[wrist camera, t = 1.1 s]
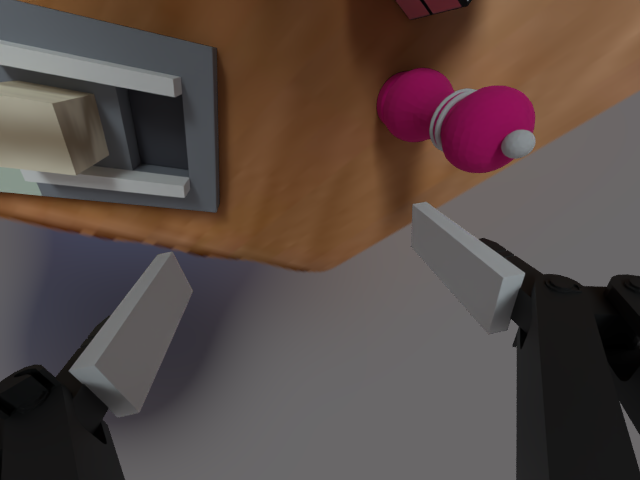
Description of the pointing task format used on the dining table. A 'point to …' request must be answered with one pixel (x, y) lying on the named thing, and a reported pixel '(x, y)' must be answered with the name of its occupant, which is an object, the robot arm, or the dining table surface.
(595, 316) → the robot arm
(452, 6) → the puzzle cube
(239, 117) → the dining table surface
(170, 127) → the pit deck
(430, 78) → the pepper mill
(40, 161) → the maple block
